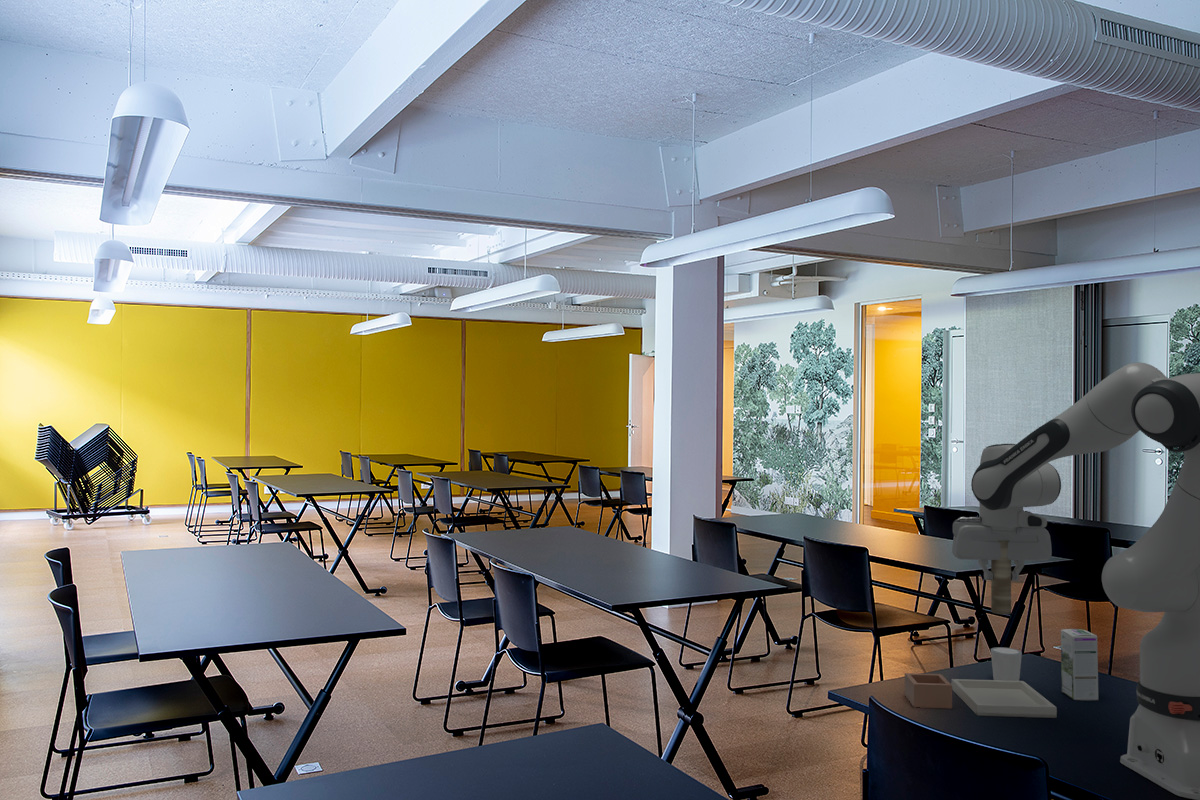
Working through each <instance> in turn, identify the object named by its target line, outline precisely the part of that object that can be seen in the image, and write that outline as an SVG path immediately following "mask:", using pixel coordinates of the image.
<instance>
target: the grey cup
mask: <svg viewBox="0 0 1200 800" xmlns="http://www.w3.org/2000/svg"><path fill="white" fill-rule="evenodd" d="M990 655H991V656H990V657H991V658H990V659H991V667H992V676H993V680H1005V681H1020V676H1021V669H1022V668H1021V666H1022V657H1023V656H1022V655H1023V653H1022V651H1021V650H1019V649H1016V648H1011V647H1003V646H1000V647H999V646H998V647H997V646H996V647H992V648H990Z"/></svg>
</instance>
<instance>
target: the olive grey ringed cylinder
mask: <svg viewBox="0 0 1200 800" xmlns="http://www.w3.org/2000/svg"><path fill="white" fill-rule="evenodd" d="M998 542H1000V547H1001V558H1000V559H999V560H990V562H991V565H990V567H991V568H990V571H991V572H993V580H990V584H991V585H990V590H991V592H990V594H991V595H990V598H991V600H990V601H991V603H990V605H991V607H990V610H991V613H992V614H997V615H1011V614H1012V581H1011V571H1012V560H1009V559H1008V557H1007V553H1008V542H1009V541H998Z"/></svg>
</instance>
